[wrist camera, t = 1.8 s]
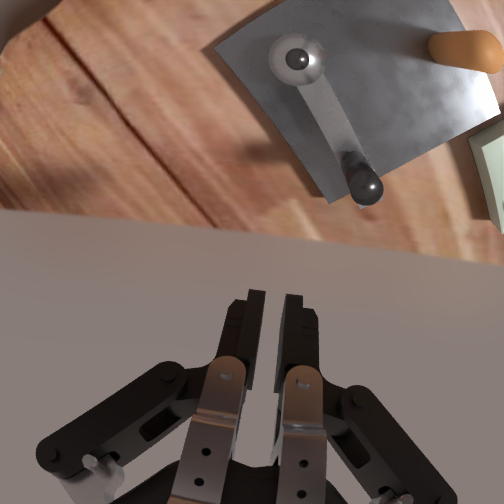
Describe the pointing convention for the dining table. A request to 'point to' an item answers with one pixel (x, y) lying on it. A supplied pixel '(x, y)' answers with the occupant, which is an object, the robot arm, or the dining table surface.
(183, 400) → the robot arm
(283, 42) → the crank
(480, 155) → the tray
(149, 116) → the dining table surface
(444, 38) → the pin
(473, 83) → the crank base
